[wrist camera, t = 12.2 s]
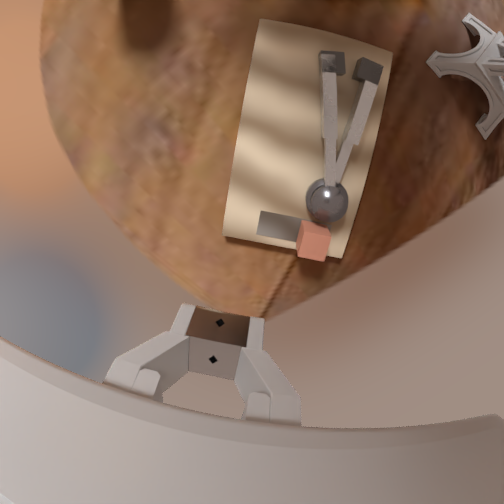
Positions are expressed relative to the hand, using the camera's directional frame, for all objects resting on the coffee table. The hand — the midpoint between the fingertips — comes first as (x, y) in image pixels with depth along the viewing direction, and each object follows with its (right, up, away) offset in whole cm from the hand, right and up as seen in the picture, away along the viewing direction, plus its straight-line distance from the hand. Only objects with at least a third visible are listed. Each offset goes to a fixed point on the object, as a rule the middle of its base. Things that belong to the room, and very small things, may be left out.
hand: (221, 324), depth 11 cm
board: (+7, +15, +21) cm, 27 cm away
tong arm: (+9, +15, +19) cm, 26 cm away
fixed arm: (+11, +15, +19) cm, 26 cm away
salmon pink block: (+8, +5, +24) cm, 25 cm away
